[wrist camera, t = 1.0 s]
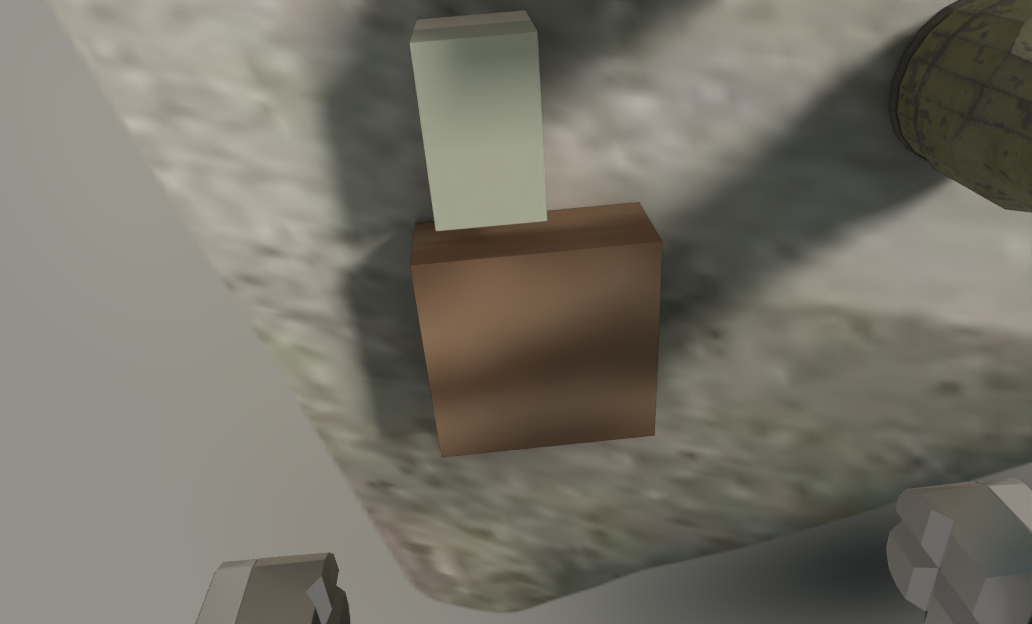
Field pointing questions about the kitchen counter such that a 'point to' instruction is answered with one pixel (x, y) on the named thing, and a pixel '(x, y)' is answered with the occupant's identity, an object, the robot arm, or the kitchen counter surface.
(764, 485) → the kitchen counter surface
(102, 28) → the kitchen counter surface
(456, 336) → the walnut stand
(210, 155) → the kitchen counter surface
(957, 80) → the thermos
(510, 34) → the block
